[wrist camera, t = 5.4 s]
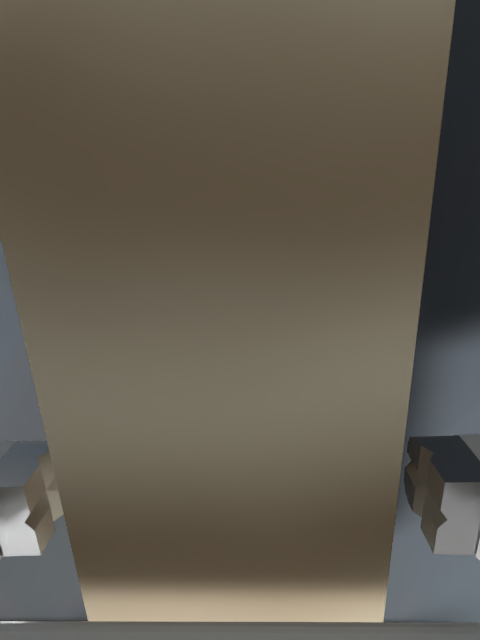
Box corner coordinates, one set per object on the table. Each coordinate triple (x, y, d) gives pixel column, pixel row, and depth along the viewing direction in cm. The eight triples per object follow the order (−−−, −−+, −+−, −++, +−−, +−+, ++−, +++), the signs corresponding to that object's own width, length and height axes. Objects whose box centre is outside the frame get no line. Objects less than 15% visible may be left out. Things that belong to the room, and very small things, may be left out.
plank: (328, 654, 14) (358, 837, 10) (167, 653, 14) (136, 832, 10) (363, 28, 8) (469, -116, 4) (82, 42, 8) (-73, -82, 4)
